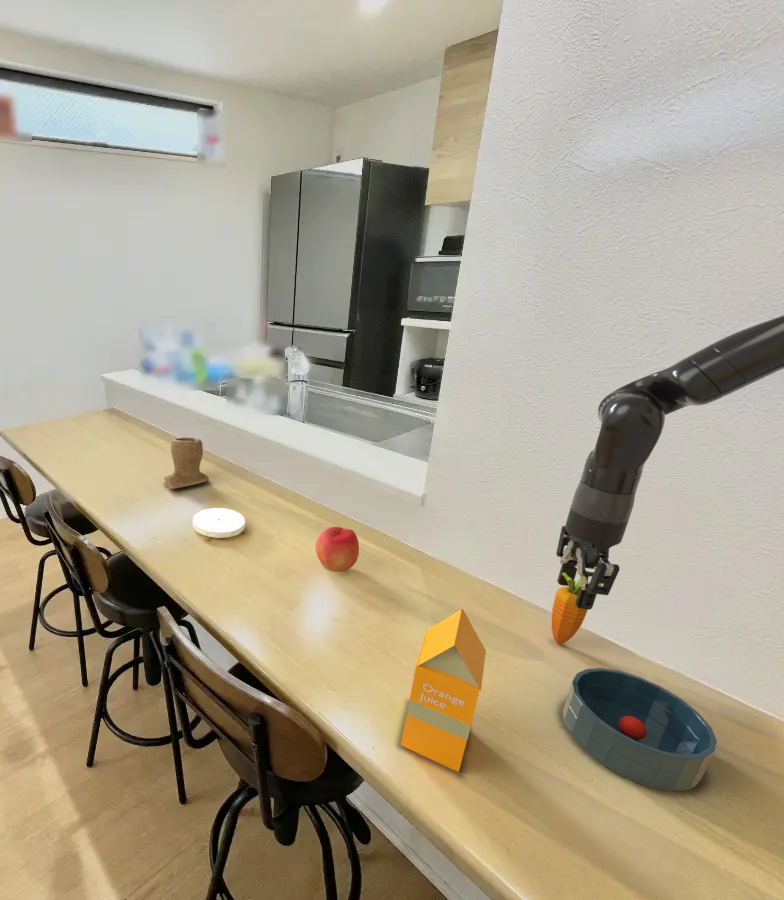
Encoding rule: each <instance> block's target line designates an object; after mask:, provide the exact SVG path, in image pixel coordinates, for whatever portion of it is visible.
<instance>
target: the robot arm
mask: <svg viewBox="0 0 784 900" xmlns="http://www.w3.org/2000/svg"><path fill="white" fill-rule="evenodd" d="M781 370H784V314H783V315H780V316H777V317H774V318H772V319H769V320H766V321H763V322H760V323H757V324H754V325H752V326H748V327H746V328H743V329H740V330H739V331H736V332H733V333H732V334H729V335H726V336H725V337H723V338H721V339H718V340H717V341H715V342H713V343H711V344H709V345H707V346H705V347H703V348H701V349H699V350H697V351H695V352H694V353H691V354H690V355H688V356H686V358H682V359H681V360H679V361H677V362H676V363H674V364H673V365H670V366H669V367H666V368H664V369H662V370H659V371H656V372H653V373H650V374H648V375H646V376H643V377H641V378H639V379H635V380H634V381H631V382H629V383H627V384H624V385H623V386H621V387H619V388H617V389H615V390H613V391H611V392H610V393H609V394H607V395H606V396H605V397H604V398H603V399H602V400H601V401H600V403H599V405H598V408H597V417H598V419H599V422H600V423H601V424H600V429H599V433H598V437H597V440H596V443H595V445H594V446H595V447H594V449H592V450H590V452H589V454H588V455H587V458H586V460H585V463H584V467H583V470H582V474H581V477H580V480H579V483H578V485H577V487H576V489H575V491H574V493H573V494H574V495H573V497H572V501H571V505H570V508H569V511H568V515H567V518H566V522H565V524H564V525H562V526H561V528H560V529H561V530H560V534H559V539H558V543H557V548H556V553H555V554H556V556H557V558H559V557H560V559H559V563H560V565H561V567H560V570H559V573H558V576H557V580H556V582H557V584H558V585H560V586H563V587H569V585H568V583H567V580H566V579H565V577H564V576H563V575H562V574H563V573H566V574H567V575H568V576H569V577H570V578H572V580H574V581H575V579H576V576H577V575H579V576H580V577H581V587H580V590H579V593H578V596H577V599H576V602H575V605H576V606H577V607H578V608H580V609H588V610H587V611H590V610H592V609H593V607H594V604H595V601H596V598H597V595H599V596H600V595H601V596H608V595H609V594H610V592H611V590H612V587H613V585H614V583H615V581H616V578H617V576H618V574H619V572H620V565H619V564H618V563H617V564H615V563H612V562H610V560H609V557H610V549H611V548H612V547H615V546H617V545H619V544H621V543H622V541H623V539H624V535H625V532H626V529H627V526H628V523H629V521H630V517H631V515H632V512H633V508H634V505H635V498H636V493H637V490H638V487H639V485H640V481H641V478H642V475H643V471H644V466H645V464H646V462H647V461H648V459H649V458H650V456H651V454H652V453H653V451H654V449H655V447H656V445H657V443H658V441H659V440H660V438H661V435H662V432H663V430H664V426H665V423H666V415H667V416H668V415H669V414H671V413H674V412H677V411H679V410H681V409H683V408H687V407H690V406H698V407H699V406H704V405H708V404H710V403H713V402H716V401H718V400H720V399H722V398H723V397H727V396H728V395H730V394H733V393H734V392H737V391H739V390H741V389H744V388H745V387H747V386H749V385H752V384H754V383H756V382H759V381H761V380H762V379H764V378H766V377H768V376H771V375H773V374H776V373H777V372H780V371H781ZM587 569H588V570H590V569H591V570H594V571H588V570H587ZM590 577H591V579H590V581H589V578H590Z"/></svg>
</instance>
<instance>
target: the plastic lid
mask: <svg viewBox="0 0 784 900" xmlns="http://www.w3.org/2000/svg"><path fill="white" fill-rule="evenodd" d="M192 528H193V530H195V531H196V532H197V533H199V534H201V535H202V536H205V537H210V538H217V539H219V538H220V539H223V538H224V539H225V538H231V537H235V536H238V535H239V534H241V533H243V531H244V530H245V528H246V518H245V517H244V515H243V514H242V513H240V512H238V511H236V510H233V509H231V508H230V509H229V508H225V507H211V508H206V509H202V510H199V511H198V512H196V513H195V514H194V515H193V516H192Z"/></svg>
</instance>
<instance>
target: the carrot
mask: <svg viewBox="0 0 784 900" xmlns="http://www.w3.org/2000/svg"><path fill="white" fill-rule="evenodd" d="M562 575H563V576H564V577H565V579H566V580H567V583H568V585H569V586H562V587H558V588H557V589H556V591H555V596H554V599H553V604H552V610H551V633H552V636H553V639H554V641H555V643H556V644H557V645H563V644H564V643H566V642H568V641H570V640H571V639H573V637H574V636H575V635H576V634H577V632H578V631H579V630H580V628H581V626H582V624H583V622H584V620H585V618H586V614H587V613H588V611H589V610H588V609H580V608H578V607H577V606H576V605H575V602H576V599H577V596H578V593H579V590H580V587H581V576H580V577H579V580H577V582H576V580H575V579H574V580H572V578H570V577H569V576H568V575H567V574H566V573H563V574H562Z"/></svg>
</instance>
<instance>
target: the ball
mask: <svg viewBox="0 0 784 900" xmlns="http://www.w3.org/2000/svg"><path fill="white" fill-rule="evenodd" d="M619 728H620V730H621V732H622V733H623V734H624V735H625V736H627V737H629V738H631V739H635V740H639V739H642V738H644V737H645V736H646V727H645V725H644V724H643V723H642V722H641V721H640V720H639V719H637V718H635V717H632V716H624V717H622V718H621V719H620V720H619Z"/></svg>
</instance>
